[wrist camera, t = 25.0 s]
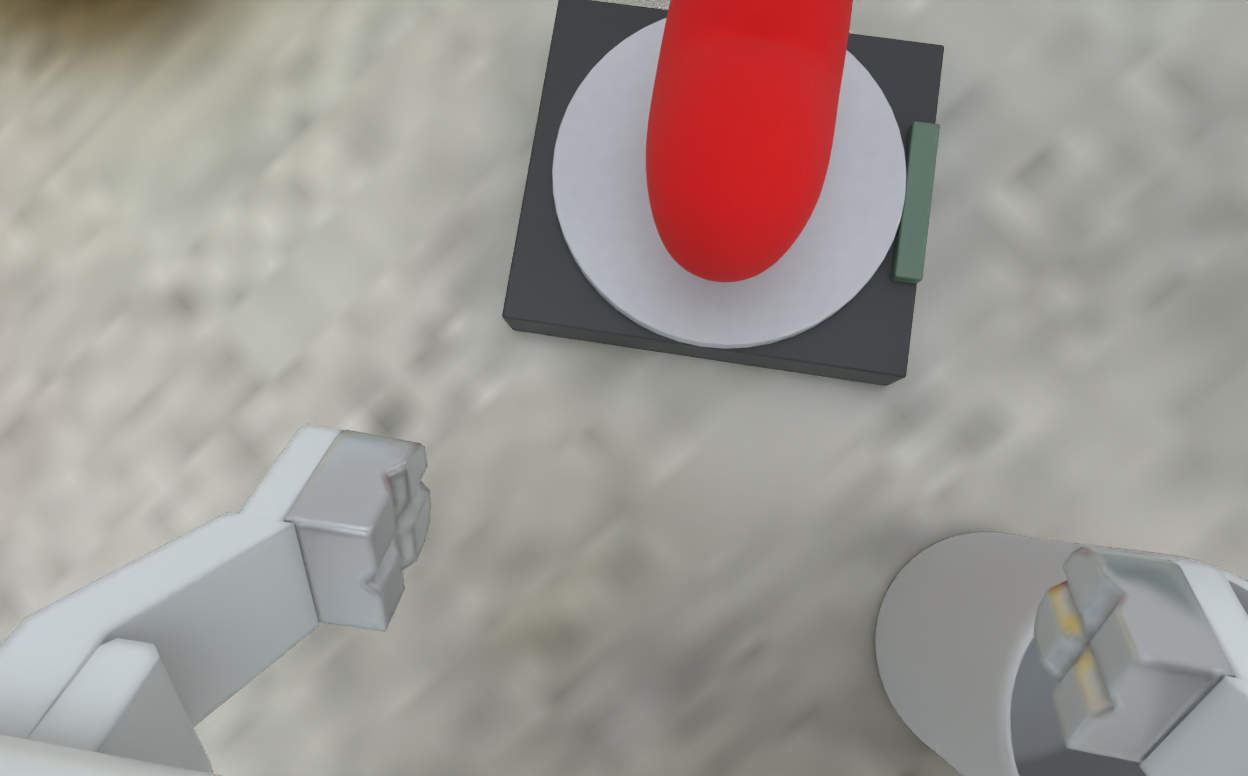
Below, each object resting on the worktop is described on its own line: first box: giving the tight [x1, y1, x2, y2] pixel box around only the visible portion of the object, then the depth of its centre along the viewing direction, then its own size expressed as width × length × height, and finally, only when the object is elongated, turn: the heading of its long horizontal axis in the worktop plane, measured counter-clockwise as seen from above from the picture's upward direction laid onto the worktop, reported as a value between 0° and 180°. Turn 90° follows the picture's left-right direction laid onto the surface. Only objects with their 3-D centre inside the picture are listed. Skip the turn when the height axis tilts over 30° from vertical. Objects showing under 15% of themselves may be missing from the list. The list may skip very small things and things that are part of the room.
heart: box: [646, 0, 853, 282], centre depth 25 cm, size 12×5×10 cm, turn 170°
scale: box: [502, 0, 944, 386], centre depth 31 cm, size 15×13×3 cm
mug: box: [875, 532, 1248, 776], centre depth 25 cm, size 12×8×11 cm
